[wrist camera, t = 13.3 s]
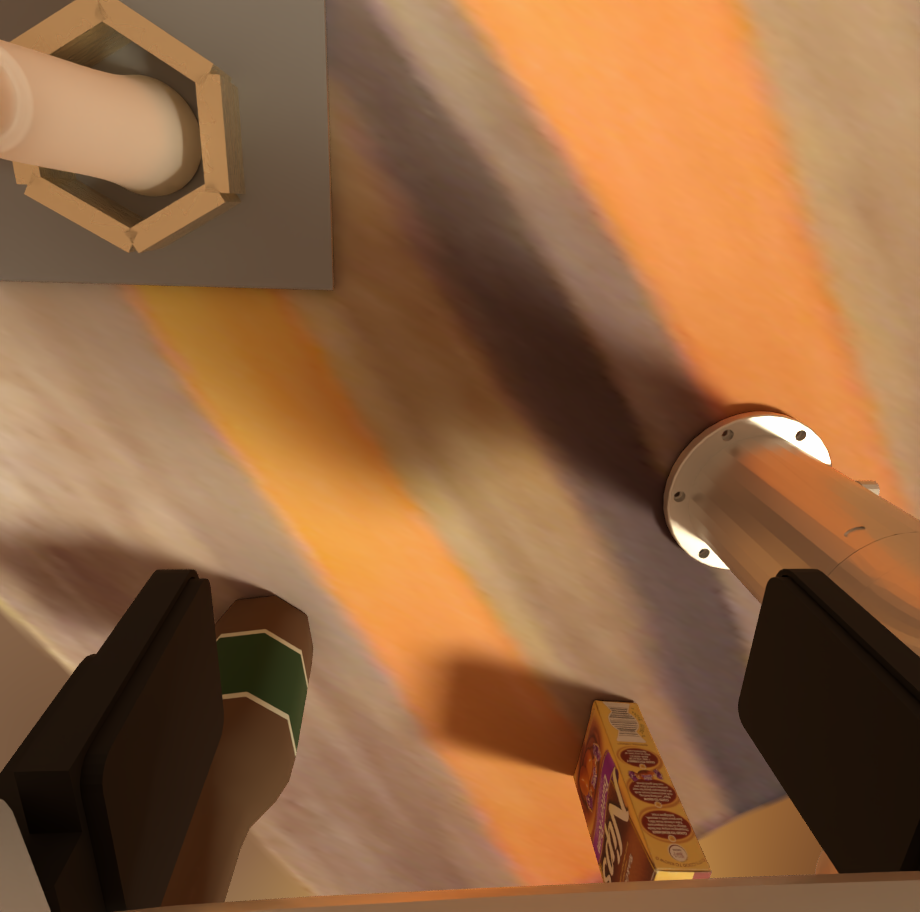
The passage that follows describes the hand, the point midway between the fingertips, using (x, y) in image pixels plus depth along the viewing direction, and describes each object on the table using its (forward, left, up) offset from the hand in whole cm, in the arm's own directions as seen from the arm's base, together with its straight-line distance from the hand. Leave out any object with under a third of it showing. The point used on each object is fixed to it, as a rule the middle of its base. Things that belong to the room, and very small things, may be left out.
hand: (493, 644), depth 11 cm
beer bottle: (+11, +24, -34) cm, 43 cm away
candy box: (-17, +36, -34) cm, 52 cm away
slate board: (+15, -10, -34) cm, 38 cm away
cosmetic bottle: (+15, -10, -33) cm, 38 cm away
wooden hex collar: (+15, -10, -34) cm, 38 cm away
